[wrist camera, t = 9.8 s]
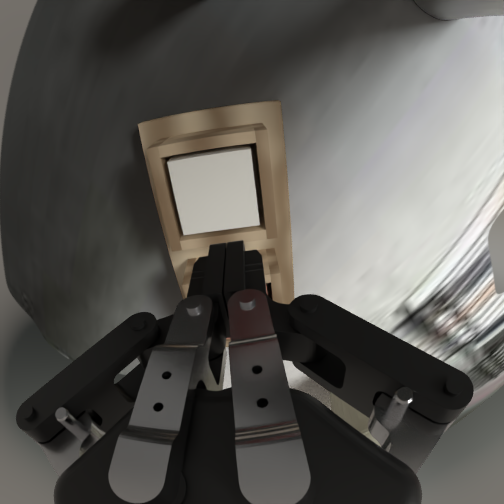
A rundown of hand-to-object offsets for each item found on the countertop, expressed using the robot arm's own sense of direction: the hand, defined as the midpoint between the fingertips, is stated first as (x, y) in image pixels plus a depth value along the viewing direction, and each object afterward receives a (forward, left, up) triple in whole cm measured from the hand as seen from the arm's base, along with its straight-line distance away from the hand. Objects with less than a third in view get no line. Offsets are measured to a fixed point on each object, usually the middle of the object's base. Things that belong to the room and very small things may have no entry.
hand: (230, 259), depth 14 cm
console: (+2, +8, -20) cm, 22 cm away
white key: (+2, +1, -16) cm, 16 cm away
